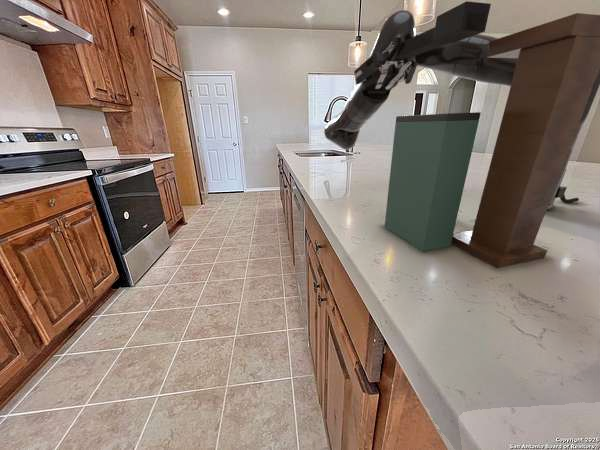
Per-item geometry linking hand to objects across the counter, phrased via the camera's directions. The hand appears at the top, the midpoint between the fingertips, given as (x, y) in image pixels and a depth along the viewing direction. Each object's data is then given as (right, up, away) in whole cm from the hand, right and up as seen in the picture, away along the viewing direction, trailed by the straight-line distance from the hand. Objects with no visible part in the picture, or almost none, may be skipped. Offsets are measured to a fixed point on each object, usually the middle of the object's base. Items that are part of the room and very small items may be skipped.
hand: (411, 38), depth 43 cm
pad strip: (+1, -4, -3) cm, 5 cm away
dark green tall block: (+3, -35, +6) cm, 36 cm away
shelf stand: (+14, -37, +1) cm, 40 cm away
